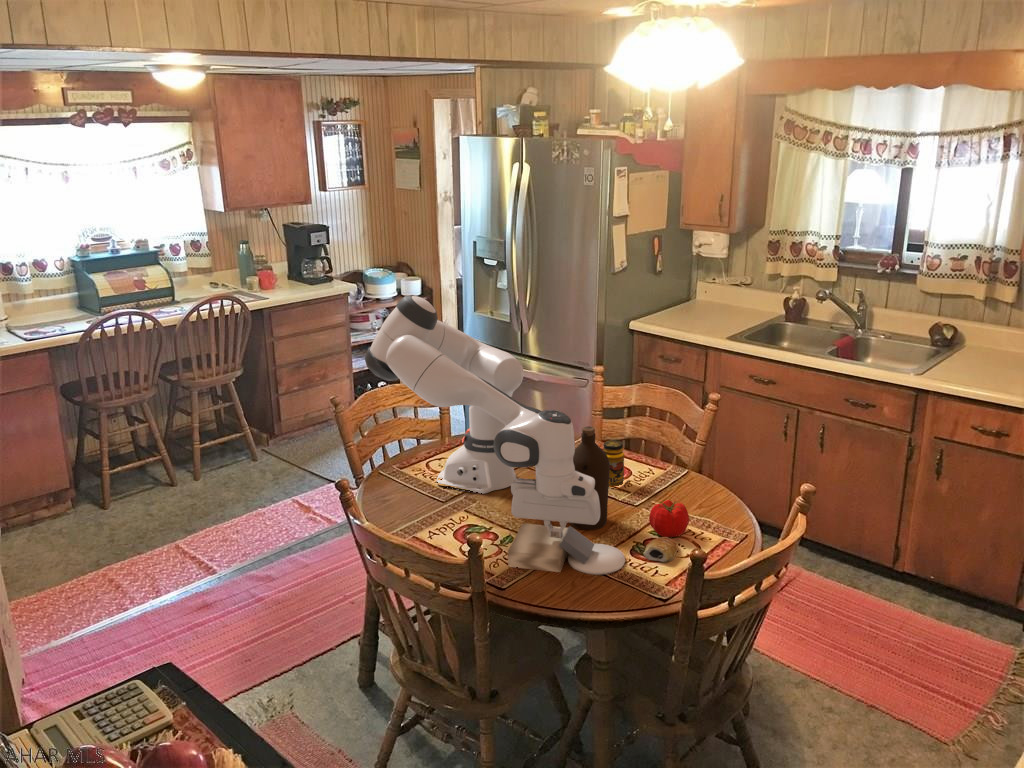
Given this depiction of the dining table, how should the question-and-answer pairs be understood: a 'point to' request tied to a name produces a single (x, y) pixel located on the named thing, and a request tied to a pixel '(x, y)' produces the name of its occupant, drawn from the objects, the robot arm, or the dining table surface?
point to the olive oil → (593, 472)
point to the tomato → (669, 519)
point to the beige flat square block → (536, 549)
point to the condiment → (615, 462)
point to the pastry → (661, 549)
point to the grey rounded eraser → (576, 545)
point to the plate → (599, 560)
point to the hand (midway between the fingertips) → (555, 536)
